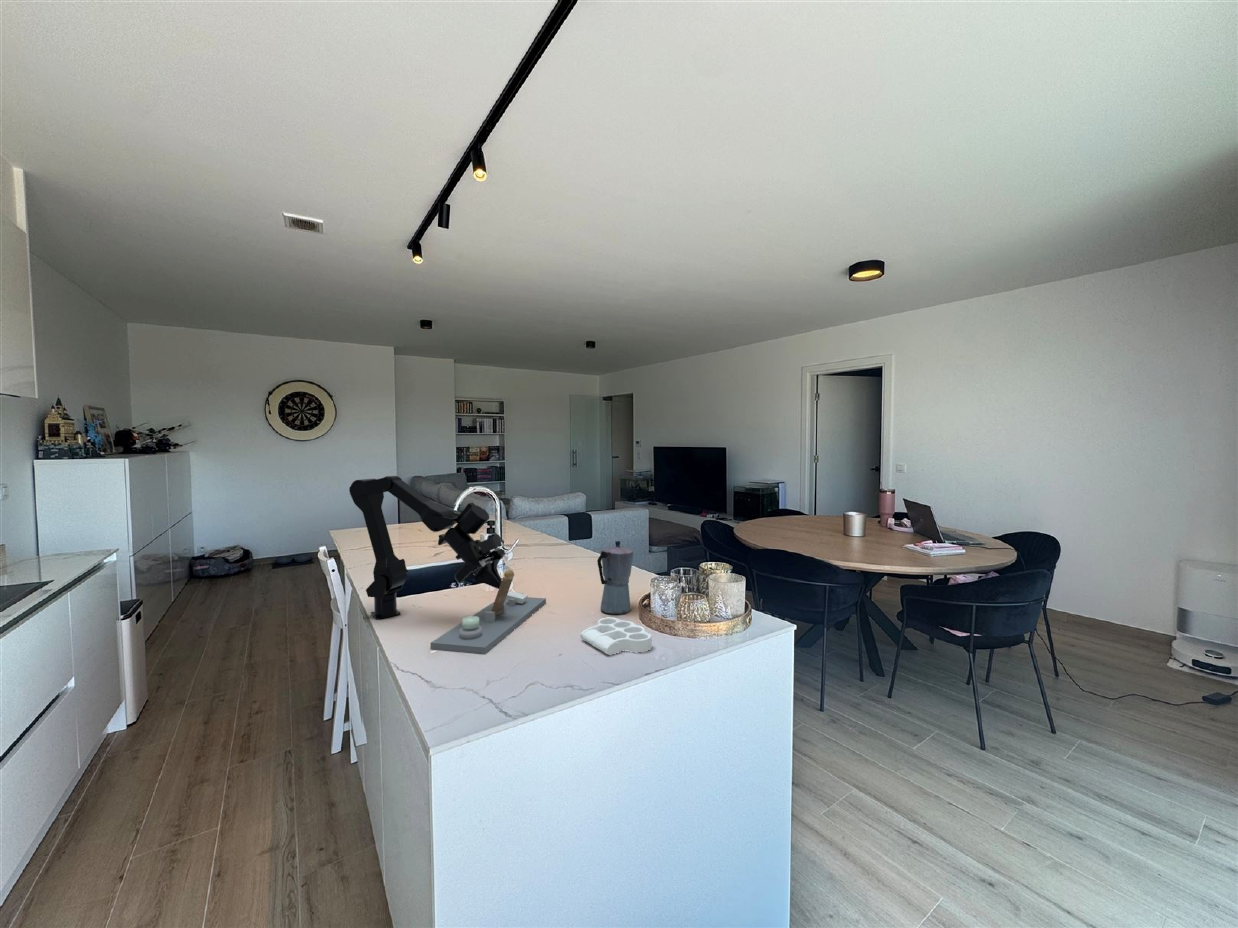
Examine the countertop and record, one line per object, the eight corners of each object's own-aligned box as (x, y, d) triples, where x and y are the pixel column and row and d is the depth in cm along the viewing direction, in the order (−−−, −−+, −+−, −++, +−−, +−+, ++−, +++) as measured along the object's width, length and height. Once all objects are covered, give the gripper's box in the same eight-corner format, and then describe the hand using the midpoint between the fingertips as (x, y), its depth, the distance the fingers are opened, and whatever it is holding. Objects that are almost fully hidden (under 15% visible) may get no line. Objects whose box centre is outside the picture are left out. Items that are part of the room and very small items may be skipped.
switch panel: (430, 648, 116) (430, 631, 116) (503, 600, 153) (503, 587, 153) (485, 653, 113) (484, 636, 113) (546, 603, 150) (545, 589, 150)
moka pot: (643, 606, 146) (642, 539, 146) (614, 621, 133) (614, 548, 133) (616, 601, 152) (615, 536, 151) (586, 615, 139) (585, 544, 138)
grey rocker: (504, 599, 144) (505, 594, 144) (509, 595, 148) (510, 591, 148) (522, 603, 143) (522, 598, 143) (527, 599, 147) (527, 595, 147)
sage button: (458, 628, 119) (458, 620, 119) (467, 622, 123) (467, 615, 123) (474, 629, 118) (473, 622, 118) (482, 623, 122) (482, 616, 122)
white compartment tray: (573, 638, 123) (621, 626, 131) (614, 663, 108) (665, 647, 117) (573, 625, 123) (621, 613, 131) (614, 648, 108) (665, 633, 117)
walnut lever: (486, 616, 131) (502, 570, 130) (494, 611, 135) (510, 566, 134) (495, 620, 131) (511, 574, 129) (502, 615, 135) (518, 570, 133)
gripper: (464, 530, 124) (505, 576, 122) (498, 520, 142) (535, 559, 140) (437, 560, 126) (477, 606, 124) (474, 546, 144) (509, 586, 142)
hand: (502, 587), depth 132 cm, fingers closed, pressing on walnut lever
